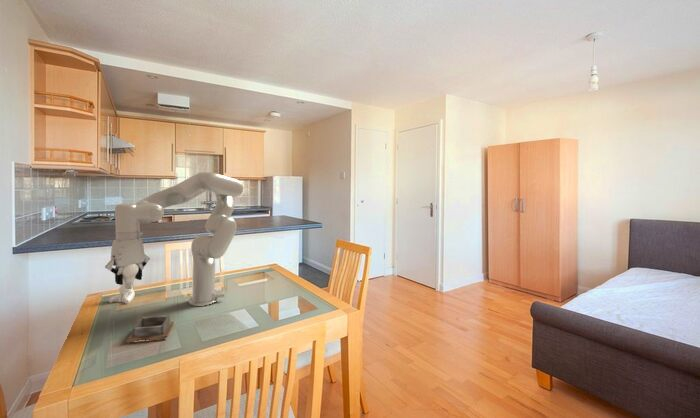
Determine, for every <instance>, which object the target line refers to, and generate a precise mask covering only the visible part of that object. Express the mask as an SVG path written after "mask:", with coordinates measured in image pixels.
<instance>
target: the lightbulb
mask: <svg viewBox="0 0 700 418" xmlns="http://www.w3.org/2000/svg"><path fill="white" fill-rule="evenodd" d="M138 270H139V267H138V265H137V264H131V265H128V266H125V267H123V269H122V272H121V274H122V275H123V279H124V282H125V289H133V288H134V281H135V279H134V278H135V276H136V274H137V273H138Z"/></svg>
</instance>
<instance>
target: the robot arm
mask: <svg viewBox="0 0 700 418" xmlns="http://www.w3.org/2000/svg"><path fill="white" fill-rule="evenodd" d="M205 192H213V193H214V194H215V197H216V204H215V206H214V208H213V210H212V211H211V213H210V215H209V217H208V218H207V220H206V223H205V226H204V227H205V231H206V232H207V233H209V234H212V236H211V235H209V234H208V235H207V234H200V235H197V236H196V237H195V238H194V239H193V240H192V242H191V246H190V247H191V253H192V254H191V255H192V295H191V296H192V297H190V298H189V299H188V305H190V306H194V307H203V306H205V305H206V306H210V305H209V304H211V305H213V304H212V303H214V302H216V301H217V300H218V301H219V298H225V293H223V292H222V291H220V292H217V289H216V260H218V259H220V258H222V257H223V256H224V255H225V253H226V252H227V251H228V249H229V247H230V245H231V243H232V241H233V239H234V237H235V235H236V233H237V228H238V226H237V222H236V220H235V219H234V218H233V217H232V214H233V213H234V210H235V201H234V198H237V197H240V196H241V195H242V194H243V193H244V185H243V183H242V182H241V181H240V179H237V178H233V177H229V176H226V175H222V174H219V173H218V172H211V171H210V172H209V171H208V172H207V171H201V172H197V173H196V174H194V175H191V176H190V177H188V178H187V179H184V180H183V181H181V182H179V183H177V184H174V185H173V186H170V187H167V188H165V189H162V190H160V191H157V192H154V193H152V194H150V195H148V196H146V197H144V198H142V199H141V200H139V201H137V202H136V203H119V204H117V205H116V206H115V207H114V217H115V220H114V221H115V239H114V240H113V241H112V244H111V252H110V260H109V261H108V262H107V264H106V265H105V266H104V269H106V270H108V271H110V272H112V274H114V280H115V283H116V284H117V285H120V286H121V285H122V284H123V275H122V274H121V272H122V269H123V267H125V266H128V265H131V264H137V265H138V267H139V270H138V273H137V274H136V276H135V279H134V280H139V281H142V277H143V271H144V268H145V266H146V265H147V263H148V262H150V261H151V258H150V257H149V256H148V255H146V254H145V248H144V247H145V246H144V242H143V239H142V238H141V236H142V235H144V232H143V231H141V230H140V229H141V228H140V227H141V226H140V225H141V224H140V222H143V223H154V222H156V223H157V222H159V221H160V220H161V219H162V218H164V215H165V209H166V208H167V207H168V208H169V207H172V206H176V205H183V204H185V203H188V202H190V201H191V200H193V199H195V198H197V197H198V196H200V195H202V194H204V193H205ZM218 301H217V302H218ZM217 302H216V303H217ZM214 304H215V303H214ZM206 306H205V307H206Z"/></svg>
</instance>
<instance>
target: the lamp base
mask: <svg viewBox="0 0 700 418" xmlns="http://www.w3.org/2000/svg"><path fill="white" fill-rule="evenodd" d="M170 317H171V316H170V315H158V316H145V317H140V318H139V319H138V321H137V322H136V323H135V325H134V326H133V327H132V329H131V333H130V335H129V336H128V337H127V339H126V344H129V343H128V342H134V341H139V340H145V341H146V340H149V342H154V341H153V340H159V341H161V340H160V339H165V338H167V337H169V336H170V334H171V332H172V330H173V327H174V325H175V322H174V321H170V319H171V318H170ZM167 339H168V338H167Z"/></svg>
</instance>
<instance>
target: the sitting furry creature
mask: <svg viewBox="0 0 700 418" xmlns="http://www.w3.org/2000/svg"><path fill="white" fill-rule="evenodd" d="M134 280H136V279H135V278H134ZM118 290H119V294H116V295H112V296H111V297H110V298H108V302H109V303H112V304H113V303H124V304H125V305H128V304H130V303H131V302H132V301H133V299H134V298H135V295H136V294H135V291H134V289H133V288H132V289H125V282H124V279H123V284H122V285H120V286H119V288H118Z"/></svg>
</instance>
